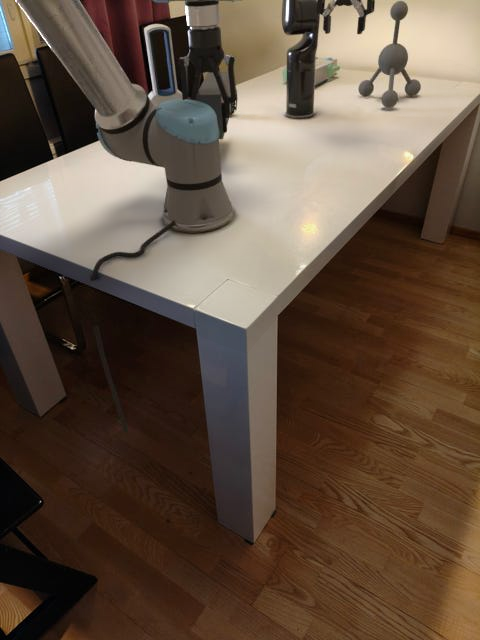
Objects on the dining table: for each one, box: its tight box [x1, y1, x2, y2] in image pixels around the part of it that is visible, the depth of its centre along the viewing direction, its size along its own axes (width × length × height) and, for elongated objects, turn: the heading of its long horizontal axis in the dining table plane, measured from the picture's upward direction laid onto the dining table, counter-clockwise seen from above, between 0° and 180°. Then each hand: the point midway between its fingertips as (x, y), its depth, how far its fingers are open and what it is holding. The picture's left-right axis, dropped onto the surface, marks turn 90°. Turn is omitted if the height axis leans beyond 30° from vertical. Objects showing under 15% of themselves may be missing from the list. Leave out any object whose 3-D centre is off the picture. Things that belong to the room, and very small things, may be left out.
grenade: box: [230, 89, 238, 117], centre depth 166 cm, size 7×6×10 cm
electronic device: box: [143, 23, 183, 106], centre depth 146 cm, size 12×8×30 cm, turn 105°
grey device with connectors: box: [282, 56, 341, 85], centre depth 205 cm, size 26×6×20 cm
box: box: [196, 71, 231, 140], centre depth 129 cm, size 25×6×10 cm, turn 176°
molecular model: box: [358, 0, 422, 109], centre depth 166 cm, size 24×22×30 cm
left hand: (212, 131), depth 125 cm, fingers closed on box, 6 cm apart
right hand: (343, 33), depth 125 cm, fingers open, 8 cm apart
